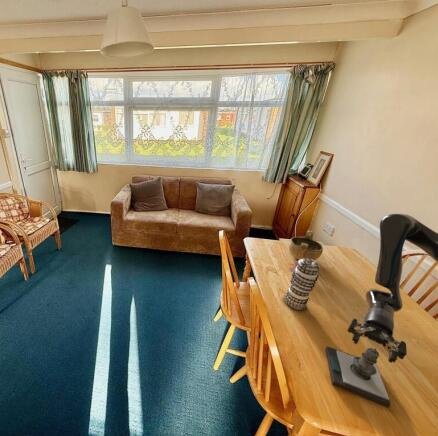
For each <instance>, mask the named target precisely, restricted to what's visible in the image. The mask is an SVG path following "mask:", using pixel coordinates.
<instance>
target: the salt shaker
mask: <svg viewBox="0 0 438 436" xmlns="http://www.w3.org/2000/svg"><path fill="white" fill-rule="evenodd" d="M379 357H380V352H378V350H377V348H373V347H367V349H366V350H365V352H362V353H361V356H356V357H354V358H353V364H351V366H350V369H351V371H352V372H353V373H354V374H355V375H356V376H357V377H359V378H360V379H363V380H370V379H371V375H375V374H376V368H375V367H374V366H373V365H374V364H376V365H377V363H378V361H377V360H378V358H379Z"/></svg>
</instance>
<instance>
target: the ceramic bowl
mask: <svg viewBox="0 0 438 436" xmlns="http://www.w3.org/2000/svg"><path fill="white" fill-rule="evenodd" d="M314 233H315V232H314V231H313V230H307V231H306V233H305V235H304V236H293V237H292V238H290V240H289V243H288V251H289V253H290V255H291V256H292V257H293V258H294V259H295V260H297V261H298V260H300V259H304V258H309V259H312V260H314V261H317V260H318V259H319V258H321V256H322V254H323V251H324V245H323V244H321V242H318V241H317V240H314V239H313V236H314Z"/></svg>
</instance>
